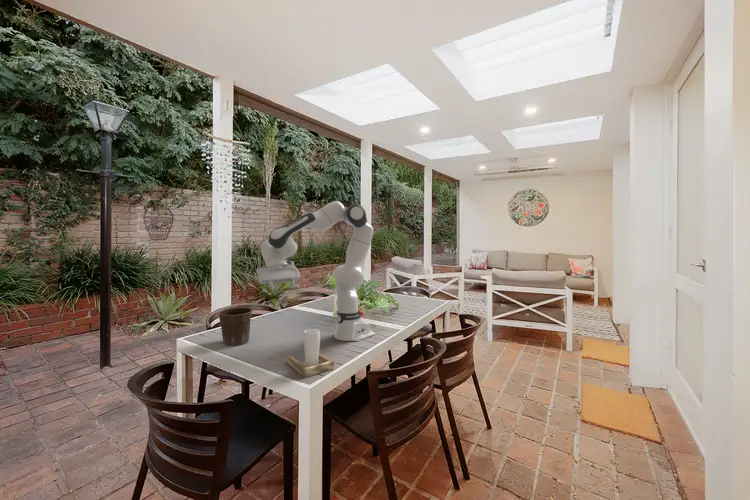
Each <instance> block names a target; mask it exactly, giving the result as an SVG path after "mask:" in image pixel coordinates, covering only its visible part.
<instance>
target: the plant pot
mask: <svg viewBox="0 0 750 500" xmlns="http://www.w3.org/2000/svg"><path fill="white" fill-rule="evenodd" d="M252 314H253V309H252V308H251V307H231V308H226V309H222V310H220V311H218V312H217V315H218V319H219V321H220V327H221V335H222V343H223V345H224V346H228V347H229V346H231V347H232V346H241V345H244V344H246V343H247V344H248V342H249V341H250V330H251V319H252Z"/></svg>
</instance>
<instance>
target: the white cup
mask: <svg viewBox="0 0 750 500" xmlns="http://www.w3.org/2000/svg"><path fill="white" fill-rule="evenodd" d="M320 345H321V330H320V329H318V328H308V329H305V330H304V331H303V349H304V364H305V366H306V367H311V366H314V365H317V364H318V358H319V353H320Z"/></svg>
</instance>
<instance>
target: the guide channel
mask: <svg viewBox="0 0 750 500" xmlns="http://www.w3.org/2000/svg"><path fill="white" fill-rule="evenodd" d="M286 364H288V365H289V366H290V367H291V368H293V369H294V370H295V371H297V372H298V373H299V374H300V375H302V376H303V377H304V378H308V377H311V376H314V375H317V374H320V373H324V372H326V371H331V370H334V369H335V362H334V361H333V359H330V358H329V357H327V356H326V355H324V354H322V353H321V352H319V358H318V364H317V365H314V366H311V367H306V366H305V363H302V362H300V361H299V360H297V359H296V358H295V357H293V356H292V355H289V354H288V355H286Z"/></svg>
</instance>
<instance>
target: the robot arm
mask: <svg viewBox="0 0 750 500" xmlns="http://www.w3.org/2000/svg"><path fill="white" fill-rule="evenodd" d="M339 222H342V223H344V224H345V225H346V226H348V227H349V228H352V230H353V232H352V235H351V238H350V241H349V243H348V245H347V248H346V251H345V261H344V264H340V265H338V266H337V267H336V268H335V269H334V272H333V277H334V281H335V282H334V283H335V289H336V295H337V310H336V328H335V332H334V339H336V340H338V341H344V342H350V341H351V342H359V341H362V340H364V339H367V338H369V337H372V335H373V336H374V335H375V332H374V331H373V330H371V326H370V323H369V322H368V321H366V320H365V319H364V318H362V316H364V315H365V311H361V310H359V296H358V294H357V290H356V288H358V287H360V286H361V285H362V284H363V282H364V281H365V279H364V277H365V276H364V268H365V263H366V262H365V261H366V258H367V255H368V253H369V249H370V246H371V244H372V239H373V236H374V226H372V225H371V224H369V223H368V217H367V213H366V209H365V208H364V206H363V205H362V204H359V203H353V204H351V205H349V206H347V207H346V206H344V204H343V203H342V202H341V201H338V200H334V201H332V202H330V203H327V204H326V205H324V206H323V207H321V208H320V209H318V210H316V211H314V212H312V213H311V212H308V213H305V214H303V215H301V216H299V217H298V218H295V219H294V220H292V221H290V222H288V223H286V224H284V225H282V226H278V227H276V228H274V229H273V230H271V231H270V233H269V234H268V238H267V239H266V240H264V241H262V243H261V245H260V251H261V255H262V258H263V260H264V264H265V266H259V267H257V268H256V269H255V271H256V274H257V277H258V282H259V284H261V285H267V286H269V287H270V288H271V290H272V291H276V290H277V286H276V284H280V283H290V285H289V287H290V289H294V288H295V286H296V285H295V282H298V281H299V280H300V277H301V274H300V271H299V270H298V268H297V267H296V266H295V263H294V261H292V260H287V259H288V258H291V257H292V256H294V255H296V253H297V252H298V244H297V243H296V242H295V240H294V239H293V238H292V237H291V236H294V234H296V233H299V232H300V231H302V230H303V229H306V228H310V229H313V230H315V231H319V232H325V231H327V230H329V229H331V228H332V227H333V226H334V225H336V224H337V223H339ZM274 284H275V285H274Z"/></svg>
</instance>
